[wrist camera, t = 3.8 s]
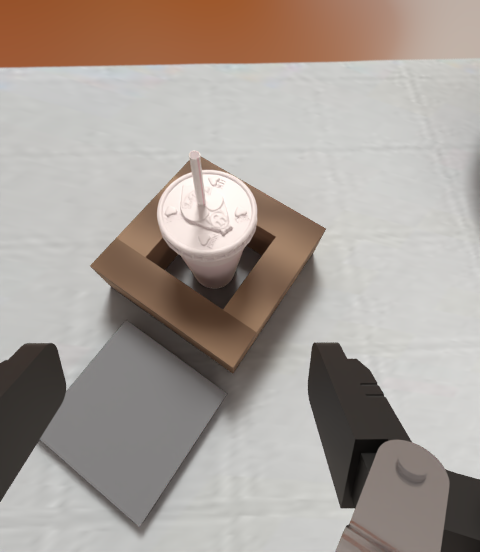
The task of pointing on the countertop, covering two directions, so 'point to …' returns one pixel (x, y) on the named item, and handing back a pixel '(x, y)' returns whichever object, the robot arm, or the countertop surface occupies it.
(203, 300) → the frame
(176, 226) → the smoothie
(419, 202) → the countertop surface
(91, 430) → the slate coaster
